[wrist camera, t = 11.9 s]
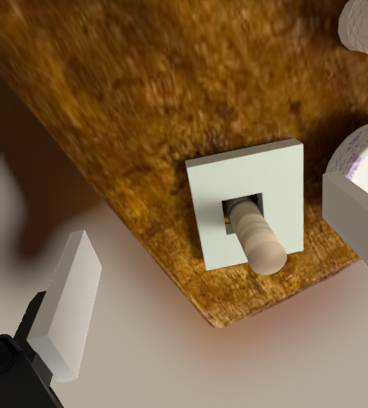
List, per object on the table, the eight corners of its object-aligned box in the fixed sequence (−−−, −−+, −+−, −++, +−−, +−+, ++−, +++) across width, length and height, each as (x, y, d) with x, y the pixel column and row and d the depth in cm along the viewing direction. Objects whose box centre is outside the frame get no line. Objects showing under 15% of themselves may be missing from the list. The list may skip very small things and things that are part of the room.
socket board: (184, 160, 43) (186, 167, 41) (293, 138, 43) (303, 143, 41) (203, 259, 52) (206, 270, 49) (295, 240, 52) (303, 250, 49)
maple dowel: (222, 195, 46) (247, 247, 34) (251, 189, 46) (287, 239, 34) (225, 220, 49) (250, 278, 36) (253, 214, 48) (288, 271, 36)
